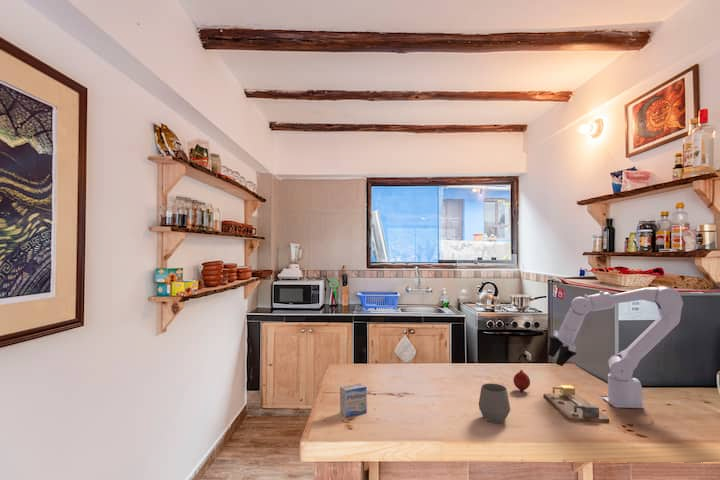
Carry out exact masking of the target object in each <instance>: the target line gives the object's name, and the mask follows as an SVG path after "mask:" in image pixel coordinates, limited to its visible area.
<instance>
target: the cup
mask: <svg viewBox="0 0 720 480" xmlns="http://www.w3.org/2000/svg"><path fill="white" fill-rule="evenodd" d="M508 394H509V393H508V389H507V387H506V386H504V385H502V384H499V383H498V384H497V383H493V382H491V383H484V384H482V385H481V389H480V395H479V400H478V408H479V411H480V413H481V415H482V417H483V418H484V419H485V420H486V421H488V422H490V423H494V424H501V423H504V422H505V421H506V419H507V418H508V415H509V413H510V411H511V405H510V401H509V395H508Z"/></svg>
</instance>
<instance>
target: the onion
mask: <svg viewBox="0 0 720 480" xmlns="http://www.w3.org/2000/svg"><path fill="white" fill-rule="evenodd" d="M513 384H514V386H515V387H516V388H517V389H518V390H519V391H521V392H524V391H526V390H527V389H529V387H530V385H531V380H530V377H529V375H528V374H527V373H525V371H524V369H520V370H519V371H518V372H517V373H516V374H515V375H514V376H513Z"/></svg>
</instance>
